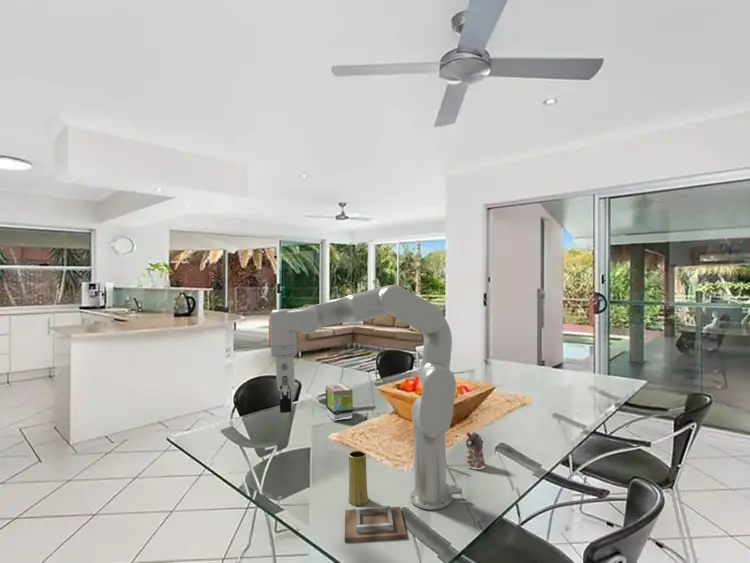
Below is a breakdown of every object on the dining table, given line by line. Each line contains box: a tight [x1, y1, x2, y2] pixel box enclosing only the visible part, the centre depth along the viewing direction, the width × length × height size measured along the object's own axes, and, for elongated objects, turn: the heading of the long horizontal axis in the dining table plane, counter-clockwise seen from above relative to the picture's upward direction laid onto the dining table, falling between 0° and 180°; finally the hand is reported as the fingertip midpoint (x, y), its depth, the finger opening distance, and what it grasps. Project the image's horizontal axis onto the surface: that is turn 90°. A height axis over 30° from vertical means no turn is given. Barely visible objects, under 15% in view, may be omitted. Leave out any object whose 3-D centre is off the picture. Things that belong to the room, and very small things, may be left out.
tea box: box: [325, 383, 354, 421], centre depth 218 cm, size 15×10×15 cm
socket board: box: [344, 505, 407, 543], centre depth 121 cm, size 16×14×2 cm
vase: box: [348, 450, 370, 506], centre depth 135 cm, size 6×6×14 cm
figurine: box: [464, 431, 486, 468], centre depth 157 cm, size 7×7×12 cm
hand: (285, 407), depth 132 cm, fingers open, 9 cm apart
